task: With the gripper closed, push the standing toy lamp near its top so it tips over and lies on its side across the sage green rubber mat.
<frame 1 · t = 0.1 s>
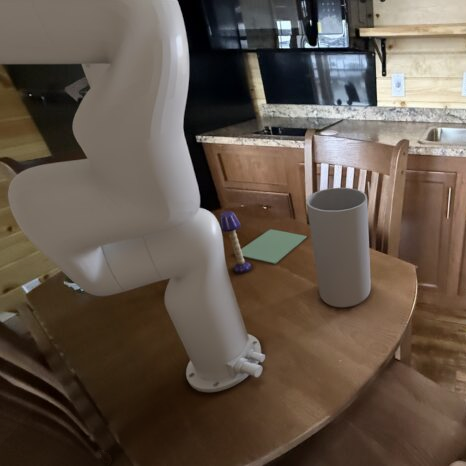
hand: (143, 130, 64), 37 cm above the table, tool pointing down, fingers open, 9 cm apart
mat: (272, 245, 96), on the table
cylinder vase: (345, 292, 78), on the table
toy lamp: (243, 268, 86), on the table
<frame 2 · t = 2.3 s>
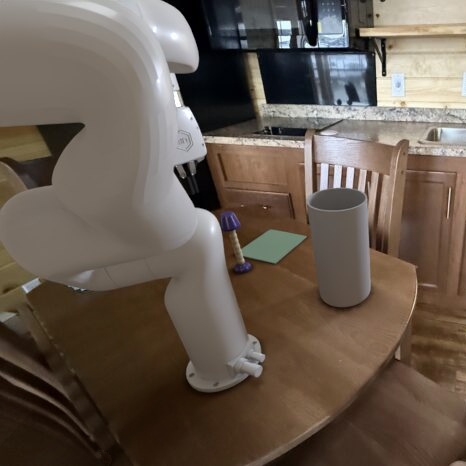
hand: (190, 192, 68), 25 cm above the table, tool pointing down, fingers closed
nothing on the table moved.
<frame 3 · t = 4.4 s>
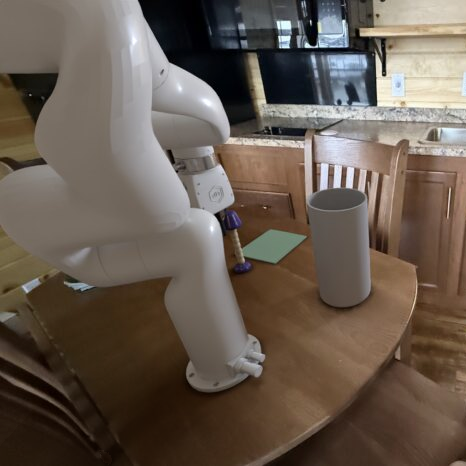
hand: (219, 235, 77), 12 cm above the table, tool pointing down, fingers closed
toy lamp: (242, 268, 86), on the table, touching gripper
everything else where it was.
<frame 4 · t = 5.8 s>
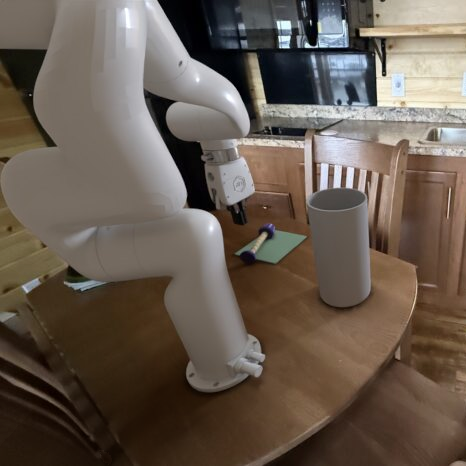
hand: (240, 223, 83), 12 cm above the table, tool pointing down, fingers closed
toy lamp: (246, 259, 86), point 2 cm above the table, touching mat
everything else where it was.
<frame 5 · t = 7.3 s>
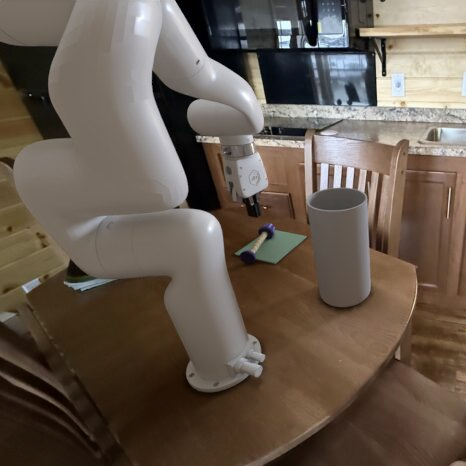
hand: (255, 215, 87), 12 cm above the table, tool pointing down, fingers closed
nothing on the table moved.
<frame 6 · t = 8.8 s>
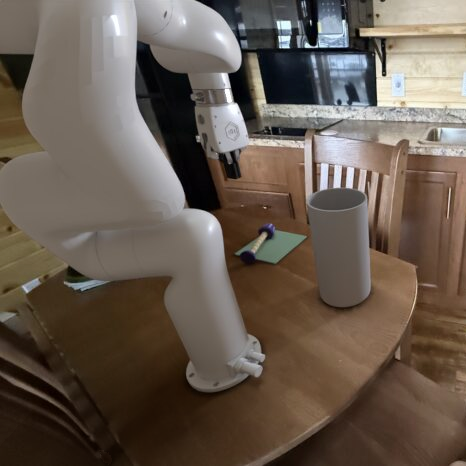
hand: (234, 177, 78), 24 cm above the table, tool pointing down, fingers closed
nothing on the table moved.
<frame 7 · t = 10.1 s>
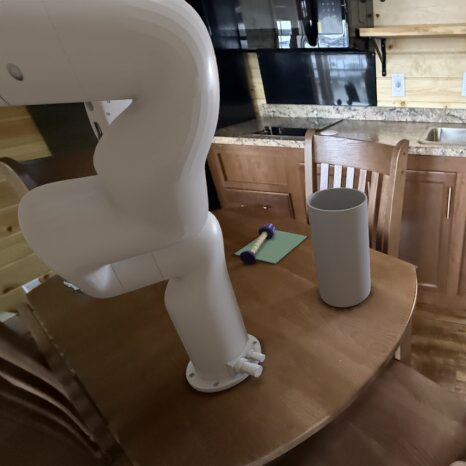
hand: (149, 177, 64), 29 cm above the table, tool pointing down, fingers closed
nothing on the table moved.
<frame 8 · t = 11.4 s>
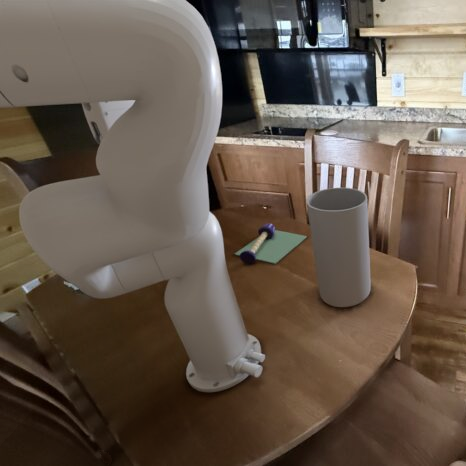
hand: (147, 177, 63), 29 cm above the table, tool pointing down, fingers closed
nothing on the table moved.
at the end: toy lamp tilted 86°; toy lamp touching mat, table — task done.
